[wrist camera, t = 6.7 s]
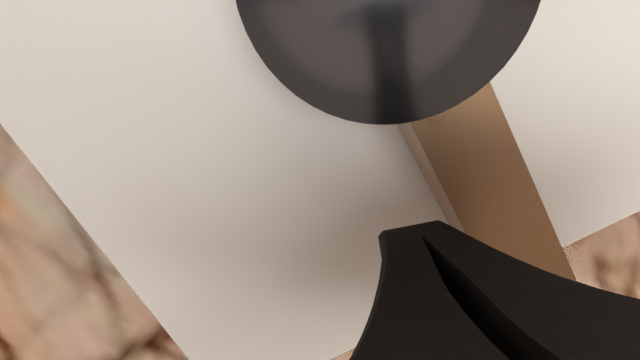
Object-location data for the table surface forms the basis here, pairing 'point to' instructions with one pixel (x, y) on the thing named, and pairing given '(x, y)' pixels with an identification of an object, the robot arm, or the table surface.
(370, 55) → the grey rounded handled piece
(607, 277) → the table surface
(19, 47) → the post base
